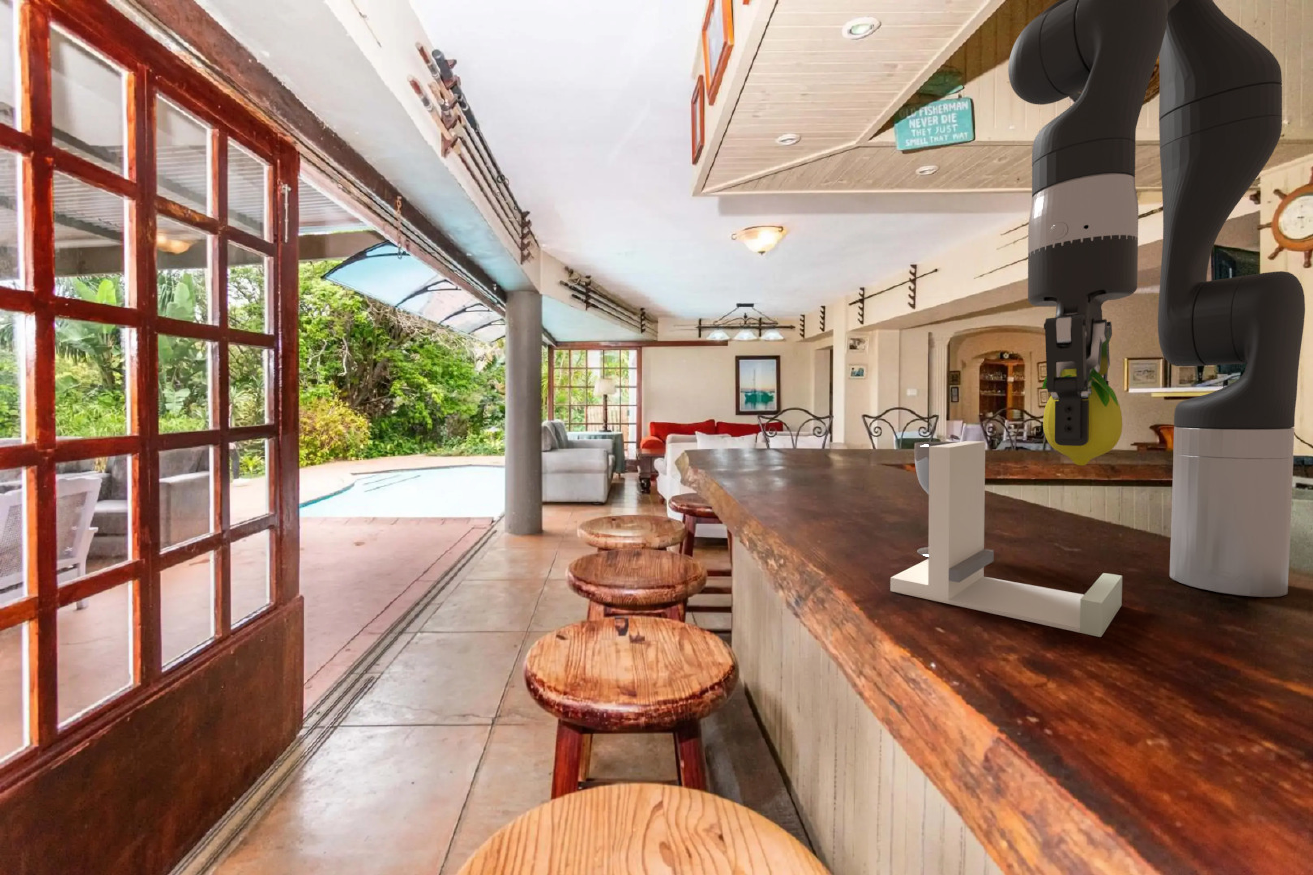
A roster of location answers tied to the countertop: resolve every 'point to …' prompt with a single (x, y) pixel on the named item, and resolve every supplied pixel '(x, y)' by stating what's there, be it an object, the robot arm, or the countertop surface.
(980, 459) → the white lipped stand
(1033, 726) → the countertop surface
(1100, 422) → the lemon
